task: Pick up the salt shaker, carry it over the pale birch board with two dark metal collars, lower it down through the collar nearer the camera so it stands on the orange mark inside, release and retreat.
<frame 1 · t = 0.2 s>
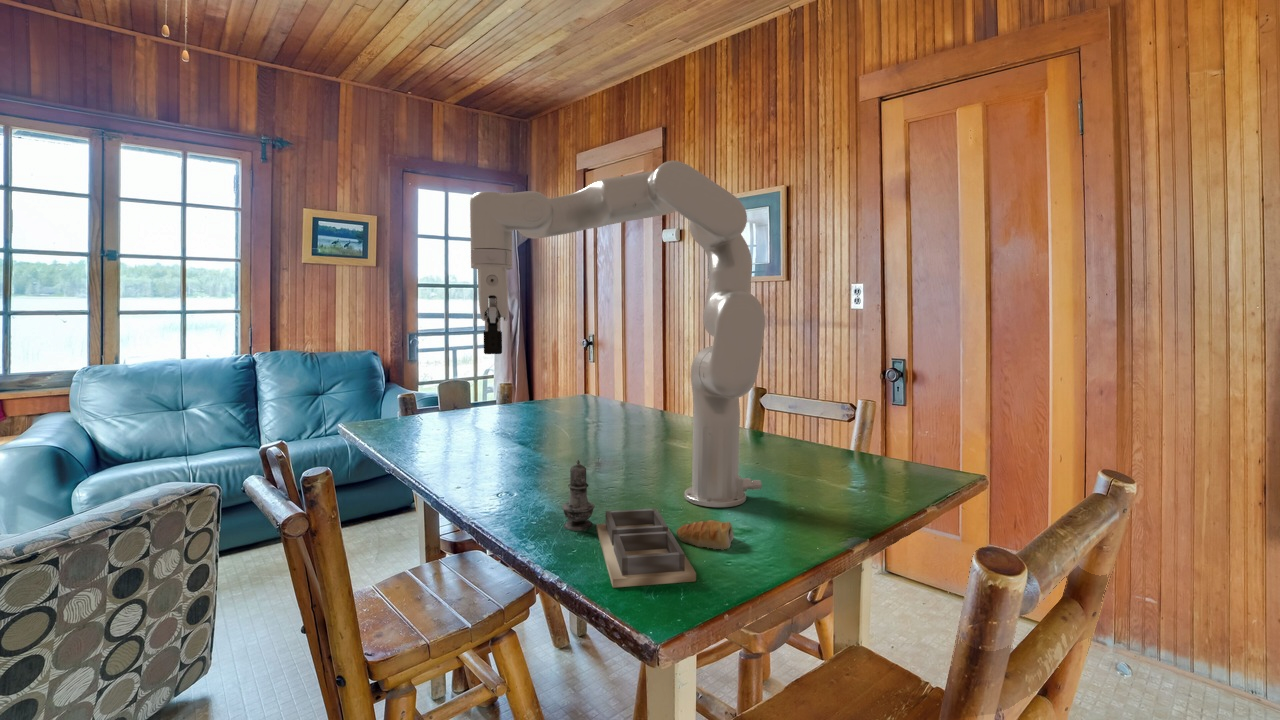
hand: (492, 352, 111), 31 cm above the table, tool pointing down, fingers open, 9 cm apart
pastry: (708, 544, 99), on the table
salt shaker: (578, 526, 106), on the table
collar board: (641, 553, 94), on the table
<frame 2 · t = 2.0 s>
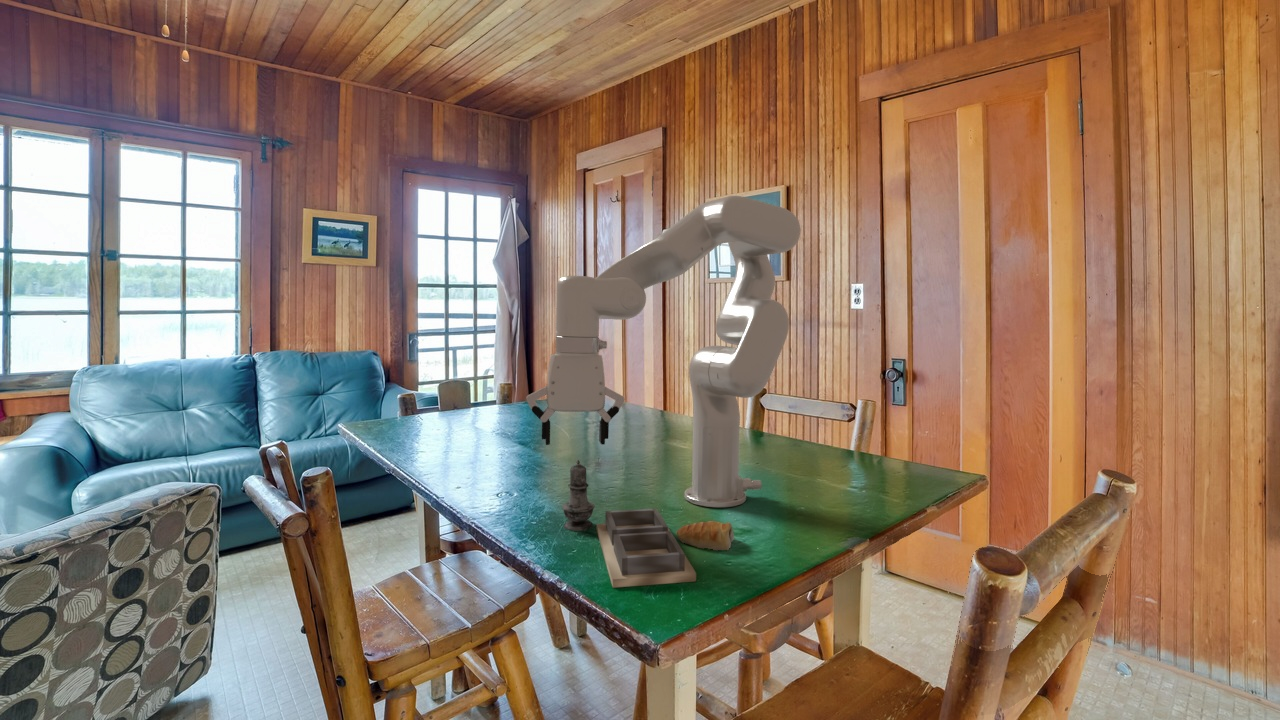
hand: (575, 443, 104), 15 cm above the table, tool pointing down, fingers open, 9 cm apart
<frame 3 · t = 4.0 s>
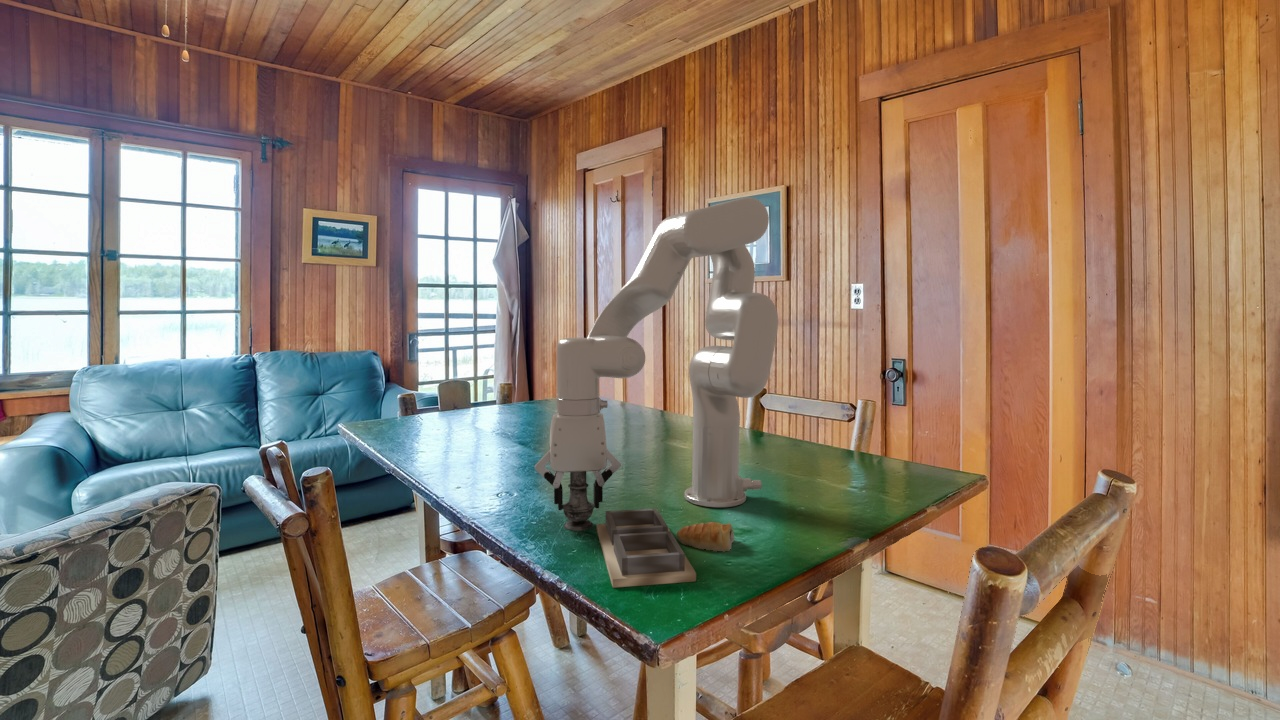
hand: (578, 505, 106), 4 cm above the table, tool pointing down, fingers closed on salt shaker, 5 cm apart
salt shaker: (578, 526, 106), on the table, touching gripper
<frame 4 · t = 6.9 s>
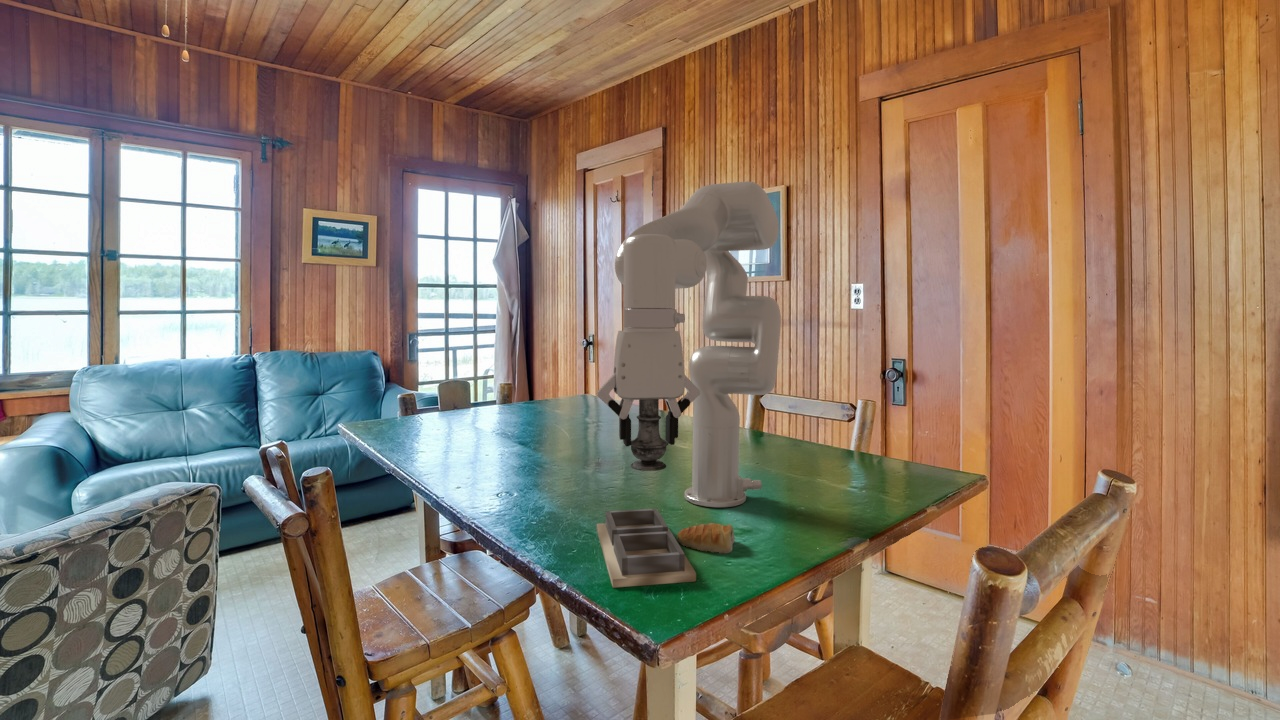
hand: (648, 442, 87), 19 cm above the table, tool pointing down, fingers closed on salt shaker, 5 cm apart
salt shaker: (648, 467, 87), point 15 cm above the table, touching gripper
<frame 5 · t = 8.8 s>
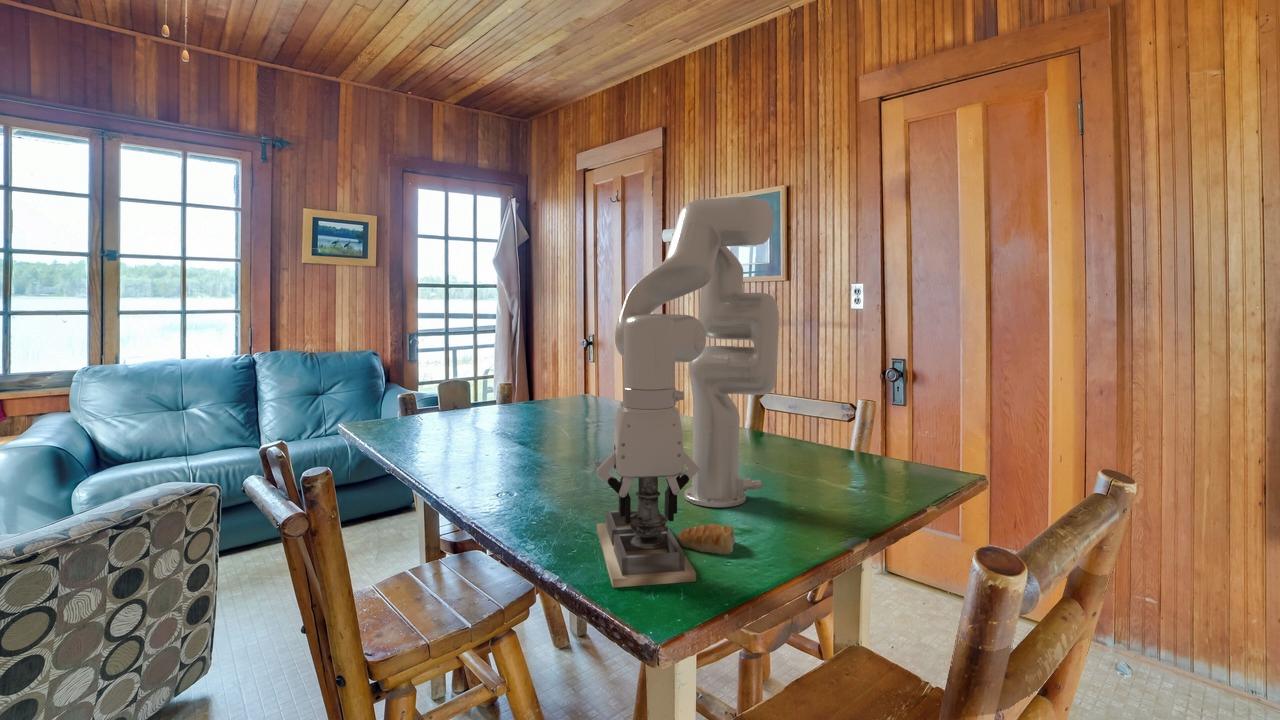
hand: (647, 518, 88), 8 cm above the table, tool pointing down, fingers closed on salt shaker, 5 cm apart
salt shaker: (647, 543, 88), point 4 cm above the table, touching gripper
when the fingers open (6 cm above the table, at t = 10.1 s): salt shaker stays where it is, resting on collar board.
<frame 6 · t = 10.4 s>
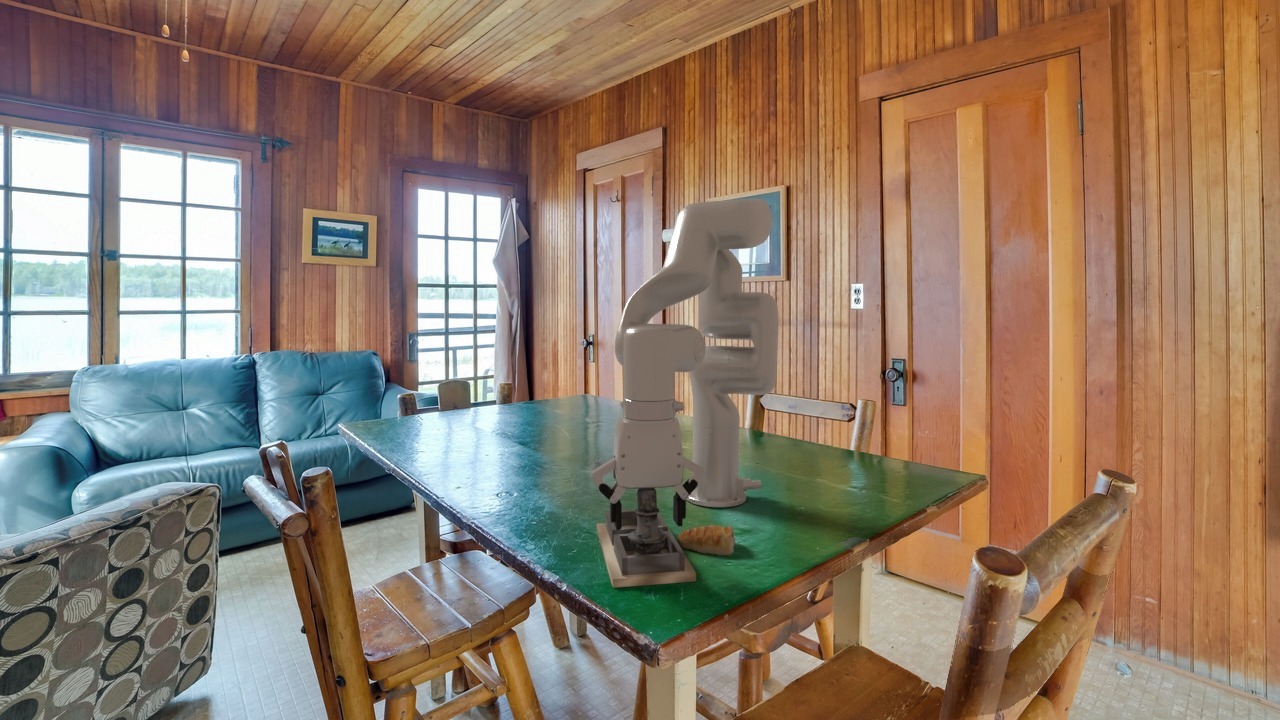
hand: (647, 524, 88), 7 cm above the table, tool pointing down, fingers open, 8 cm apart
salt shaker: (648, 559, 88), point 1 cm above the table, touching collar board
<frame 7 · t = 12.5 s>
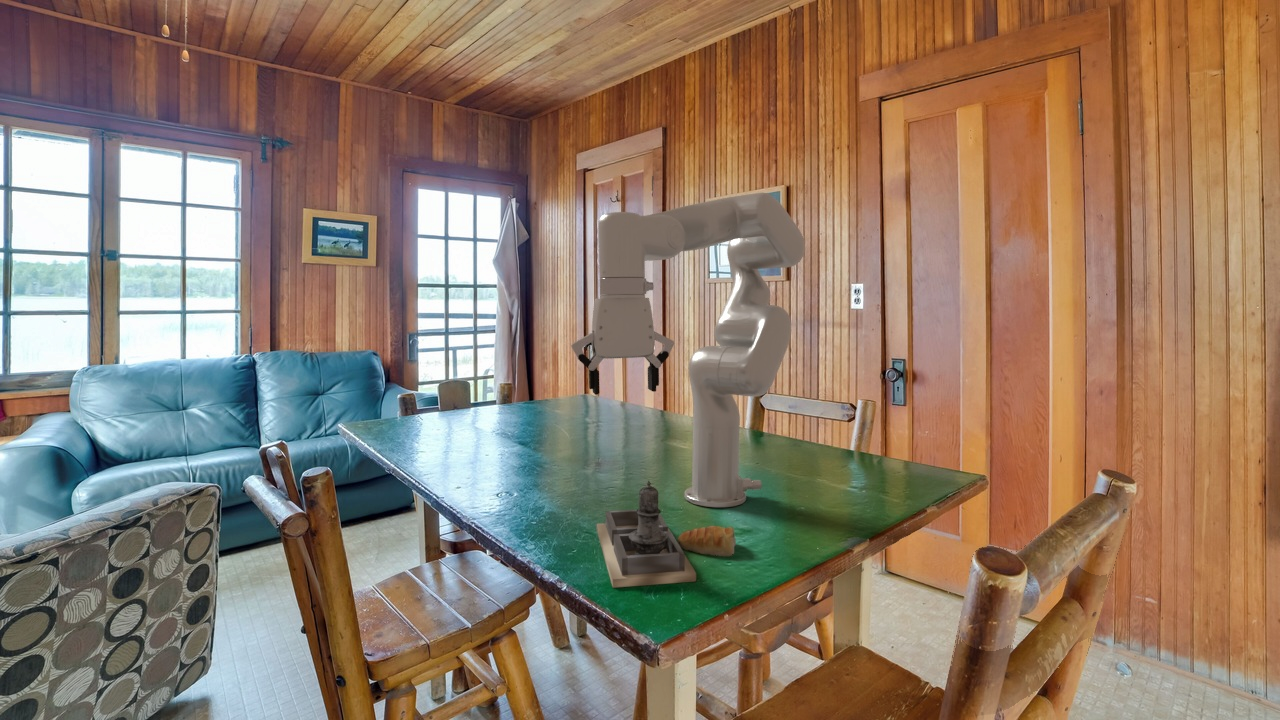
hand: (624, 391, 99), 25 cm above the table, tool pointing down, fingers open, 9 cm apart
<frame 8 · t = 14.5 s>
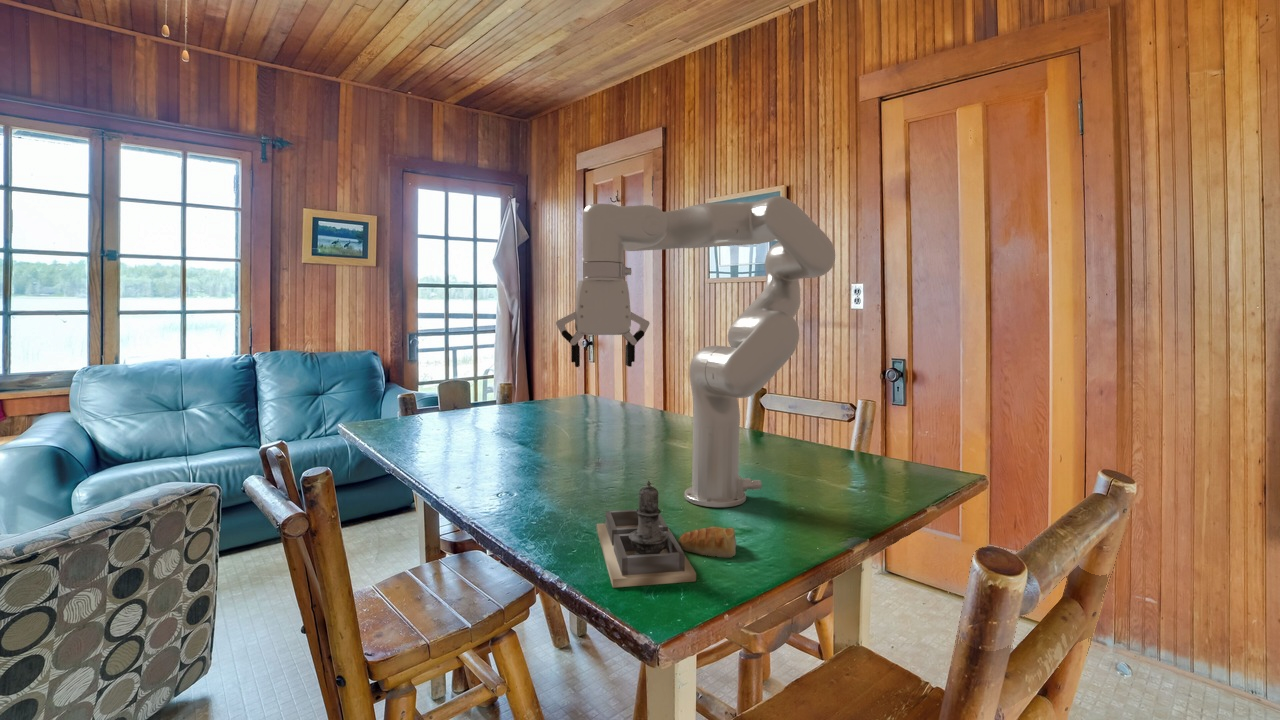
hand: (603, 366, 109), 28 cm above the table, tool pointing down, fingers open, 9 cm apart
at the end: salt shaker 0.1 cm from the target spot on the collar board, point 1.1 cm above the collar board's base; salt shaker tilted 0°; the gripper is holding nothing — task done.
